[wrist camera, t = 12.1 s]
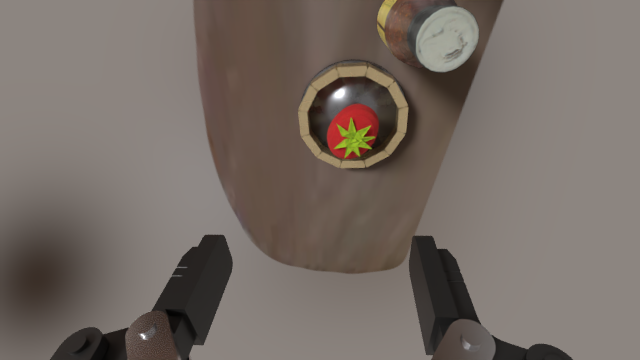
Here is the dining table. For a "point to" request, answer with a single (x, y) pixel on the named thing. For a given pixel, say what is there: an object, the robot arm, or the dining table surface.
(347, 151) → the strawberry
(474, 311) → the robot arm
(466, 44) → the sauce bottle
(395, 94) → the tan rimmed round bowl
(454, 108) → the dining table surface
